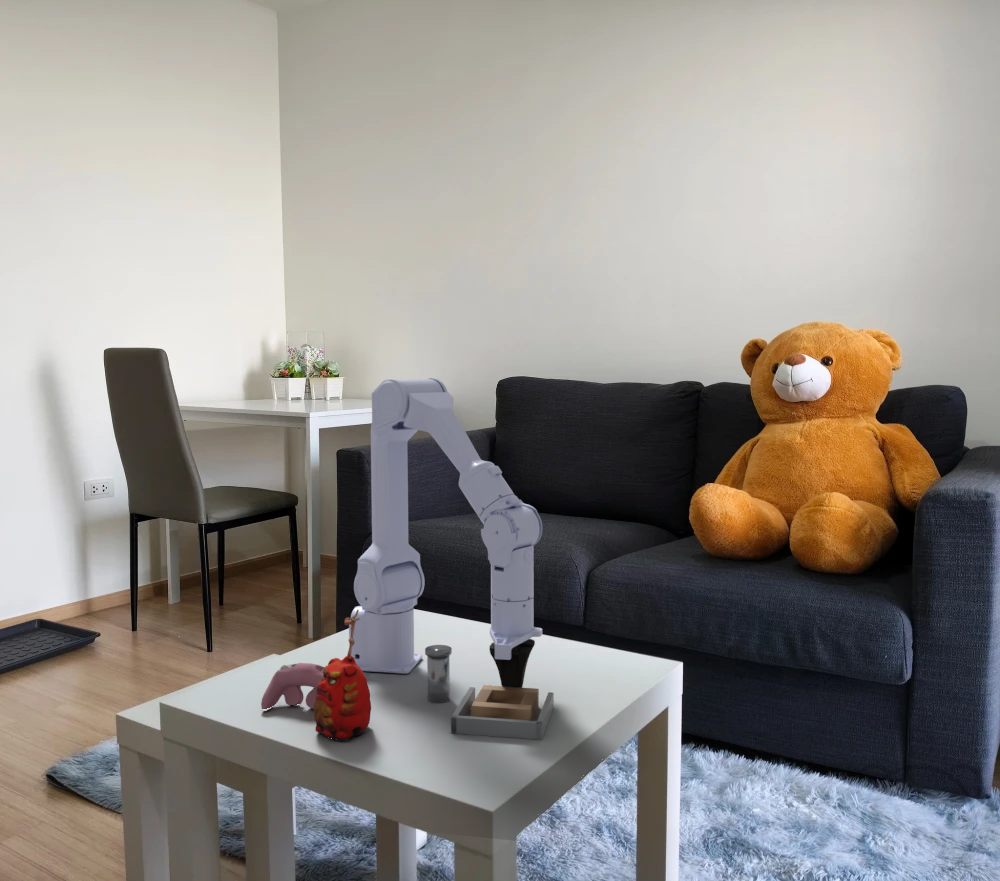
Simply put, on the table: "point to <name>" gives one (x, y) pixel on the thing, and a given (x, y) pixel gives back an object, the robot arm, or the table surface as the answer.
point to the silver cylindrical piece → (438, 673)
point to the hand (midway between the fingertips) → (512, 695)
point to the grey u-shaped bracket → (499, 721)
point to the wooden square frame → (506, 703)
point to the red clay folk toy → (343, 696)
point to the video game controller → (293, 684)
